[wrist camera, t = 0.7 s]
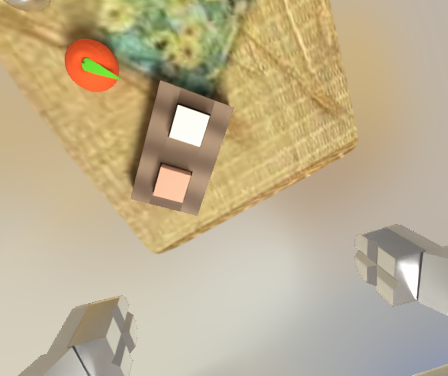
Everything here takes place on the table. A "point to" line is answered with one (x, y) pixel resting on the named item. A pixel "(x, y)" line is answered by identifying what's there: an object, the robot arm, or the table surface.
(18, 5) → the plastic bottle
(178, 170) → the key terracotta
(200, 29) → the table surface
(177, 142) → the key console
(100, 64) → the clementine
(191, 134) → the key ivory
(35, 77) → the table surface
